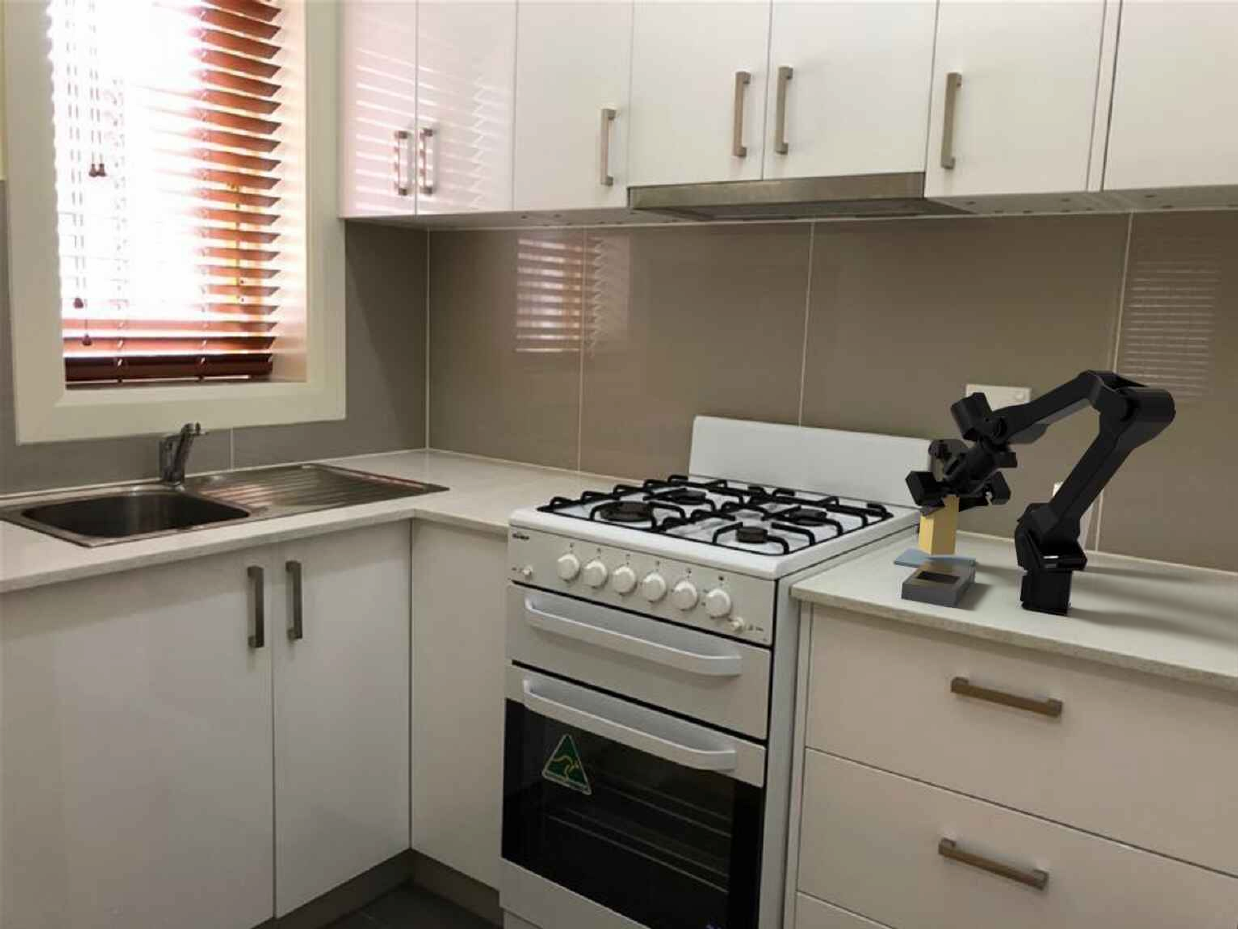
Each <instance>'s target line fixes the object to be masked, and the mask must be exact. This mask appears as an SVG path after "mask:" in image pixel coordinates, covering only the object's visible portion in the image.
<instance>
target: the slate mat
mask: <svg viewBox="0 0 1238 929" xmlns="http://www.w3.org/2000/svg"><path fill="white" fill-rule="evenodd" d="M927 560H928V561H935V562H941V563H948V564H954V565H961V566H967V567H972V566H973V565H974V564H975V563H976V558H975V557H970V556H962V555H957V554H956V555H955V554H951V555H930V554H928V553H926V552H924V551H922V550H920V549H918V548H917V549H916V548H908V549H906V550H905V551H904V552H903V553H901V554H900V555H899V556H898V557H896V558H895V559H894V560H893V563H892V564H893V565H897V566H905V567H911V568H915V569H916V568H917V569H918V568H919V567H920V566H921V565H923V564H924V563H925V562H926V561H927Z"/></svg>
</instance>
